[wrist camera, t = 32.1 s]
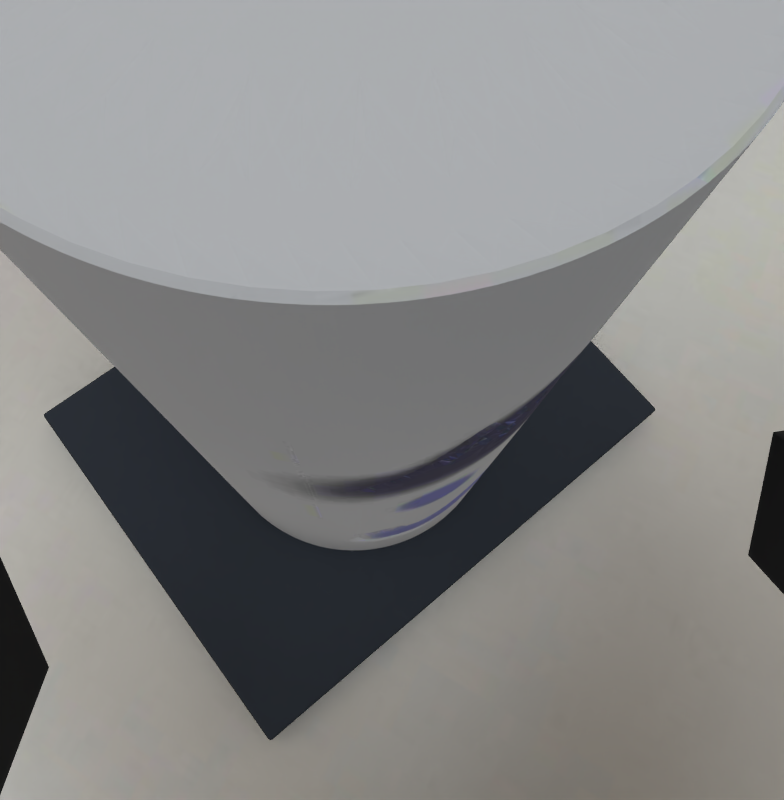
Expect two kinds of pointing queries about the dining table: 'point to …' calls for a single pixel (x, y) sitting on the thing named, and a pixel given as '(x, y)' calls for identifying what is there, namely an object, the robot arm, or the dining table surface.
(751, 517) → the dining table surface
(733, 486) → the dining table surface
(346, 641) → the mat
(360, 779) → the dining table surface
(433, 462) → the container
